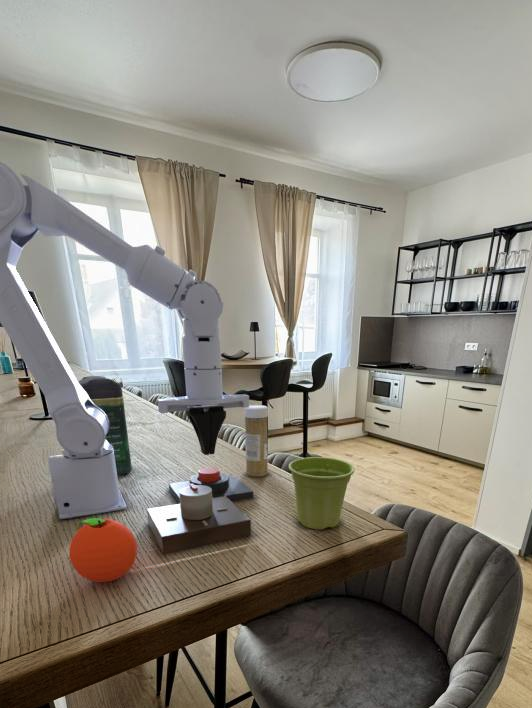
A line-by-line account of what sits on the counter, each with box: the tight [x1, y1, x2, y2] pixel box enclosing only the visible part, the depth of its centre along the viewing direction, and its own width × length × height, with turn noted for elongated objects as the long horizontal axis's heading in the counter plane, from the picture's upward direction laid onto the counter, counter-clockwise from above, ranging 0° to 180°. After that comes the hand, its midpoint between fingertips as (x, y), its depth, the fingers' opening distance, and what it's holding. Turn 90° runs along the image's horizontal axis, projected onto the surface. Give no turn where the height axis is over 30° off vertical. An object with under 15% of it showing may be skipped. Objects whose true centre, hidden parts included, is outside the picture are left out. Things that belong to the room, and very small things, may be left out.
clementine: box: [68, 517, 138, 583], centre depth 46 cm, size 8×7×7 cm
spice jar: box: [243, 404, 269, 478], centre depth 80 cm, size 5×5×13 cm
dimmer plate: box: [146, 496, 252, 555], centre depth 58 cm, size 12×10×3 cm
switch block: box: [168, 472, 254, 504], centre depth 71 cm, size 12×10×3 cm
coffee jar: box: [77, 375, 133, 477], centre depth 80 cm, size 10×8×19 cm
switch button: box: [197, 467, 221, 482], centre depth 70 cm, size 4×4×2 cm
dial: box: [179, 483, 213, 520], centre depth 57 cm, size 4×4×4 cm
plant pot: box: [288, 456, 356, 530], centre depth 60 cm, size 9×9×9 cm
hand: (208, 453), depth 69 cm, fingers closed
